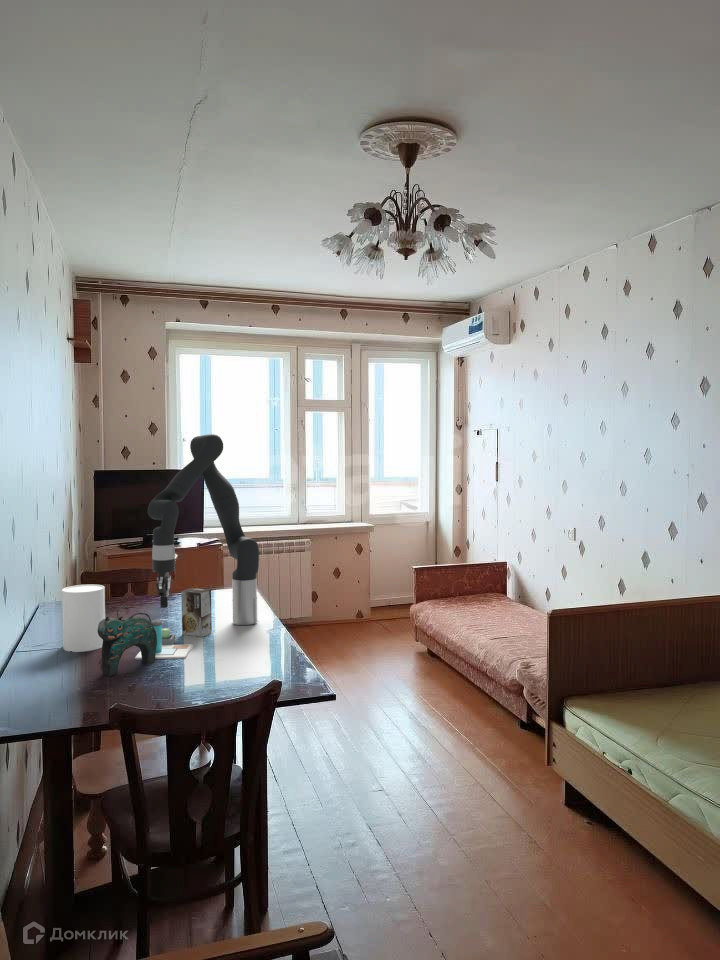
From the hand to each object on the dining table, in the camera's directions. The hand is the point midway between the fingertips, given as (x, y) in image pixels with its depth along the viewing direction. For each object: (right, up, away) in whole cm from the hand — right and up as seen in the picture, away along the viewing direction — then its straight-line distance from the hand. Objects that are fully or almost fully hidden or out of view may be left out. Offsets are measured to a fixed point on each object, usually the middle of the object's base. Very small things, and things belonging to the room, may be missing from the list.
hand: (164, 607), depth 245 cm
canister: (-27, -13, -2) cm, 30 cm away
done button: (0, -11, +1) cm, 11 cm away
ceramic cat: (-4, -14, -26) cm, 30 cm away
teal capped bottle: (0, -13, -11) cm, 17 cm away
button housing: (0, -13, +1) cm, 13 cm away
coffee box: (+8, -12, +14) cm, 20 cm away
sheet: (+3, -13, -10) cm, 17 cm away
